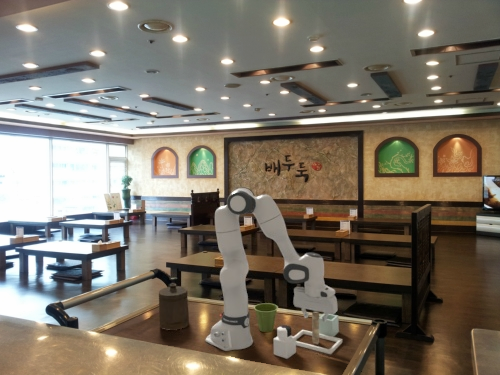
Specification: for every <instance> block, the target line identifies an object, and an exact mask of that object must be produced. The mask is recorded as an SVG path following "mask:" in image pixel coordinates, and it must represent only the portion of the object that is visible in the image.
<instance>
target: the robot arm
mask: <svg viewBox="0 0 500 375" xmlns="http://www.w3.org/2000/svg"><path fill="white" fill-rule="evenodd" d="M249 214H250V215H251V214H253V216H254V217H255V219H256V221H257V223H258V226H259V227H260V230H261V231H262V232H263V234H264V235H265V237H266V238H269V239H271V240H273V241H274V242H275V243H276V244H277V247H278V248H279V251H280V254H281V255H282V256H283V260H284V261H283V262H284V265H283V266H284V267H283V271H282V275H283V277H284V279H285V281H287V282H288V283H290V284H302V283H304V286H296V287H294V288H293V293H294V295H293V305H294V307H296V308H300V309H301V312H302V314H303V318H304V319H308V318H309V312H307V310H310V311H313V312H319V313H320V312H321V313H323V314H324V315H325V317H323V318H322V321H323V322H326V321H327V316H328V315H329V314H332V315H335V314H336V312H338V301H337V300H338V299H337V297H336V295H335V294H336V289H334V288H333V287H330V286H328V285H327V284H325V279H324V277H325V276H324V275H325V262H324V257H322V256H321V255H320V254H319V253H316V252H306V253H304V255H302V256H301V255H300V254H299V253H298V252H297V250H296V248H295V247H294V244H293V243H292V241H291V239H290V237H289V235H288V231H287V230H288V229H287V226H286V223H285V219H284V217H283V215H282V212H281V210H280V208H279V207H278V204H277V203H276V202H275V200H274V199H273V197H272V196H271V195H269V194H260V195H258V196H255V194H254V192H253V191H252V189H250V188H248V187H239V188H236V189H234V190H233V191H232V192H231V193H230V194H229V195H228V196H227V199H226V205H221V206H219V207H217V208H216V210H215V212H214V227H215V228H214V229H215V234H216V239H217V245H218V246H217V247H218V250H219V252H220V254H221V257H222V261H223V267H222V268H221V269H220V271H219V282H220V285H221V290H222V294H223V295H222V296H223V310H224V311H222V313H219V317H220V318H221V319H220V320H219V321H217V322H216V323H215V324H214V325H213V326H212V327H211V329H210V333H209V335H207V337H206V338H205V342H206V343H208V344H210V345H211V346H215V347H217V348H218V349H220V350H222V351H225V352H228V351H229V352H230V351H232V350H233V351H234V350H242V349H243V350H244V349H246V348H249V347H250V346H252V345H253V343H254V339H253V337H252V334H251V328H250V311H249V298H248V297H249V296H248V293H247V286H246V277H247V275H248V274H249V270H250V268H249V267H250V266H249V262H248V258H247V255H246V251H245V249H244V244H243V237H242V233H241V227H240V225H241V224H240V216H243V215H249Z"/></svg>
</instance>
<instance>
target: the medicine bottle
mask: <svg viewBox="0 0 500 375" xmlns="http://www.w3.org/2000/svg"><path fill="white" fill-rule="evenodd" d="M276 332H277V333H276V334H277V336H276V337H274V338H273V339H272V341H273V355H275V356H277V357H281V358H283V359H286V360H288V359H290V358H291V357H292V356H293V355H294V354H296V353H297V345H296V341H297V340H296V337H294V336H295V335H294V336H293V335H292V327H291V326H290V325H287V324H282V325H279V326H277V328H276Z"/></svg>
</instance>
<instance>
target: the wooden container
mask: <svg viewBox="0 0 500 375" xmlns="http://www.w3.org/2000/svg"><path fill="white" fill-rule="evenodd" d="M188 296H189V294H188V288H187V287H185V286H181V285H179V286H178V285H177V284H176V283H175V282H171V283H169V286H166V287H164V288H161V289H160V290H158V312H159V316H158V317H159V327H160V326H161V327H162V328H165V329H170V330H175V331H177V330H176V329H180V330H183V329H185V328H187V327H188V326H189V324H190V317H189V315H190V314H189V301H188V300H189V298H188ZM182 328H183V329H182Z"/></svg>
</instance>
